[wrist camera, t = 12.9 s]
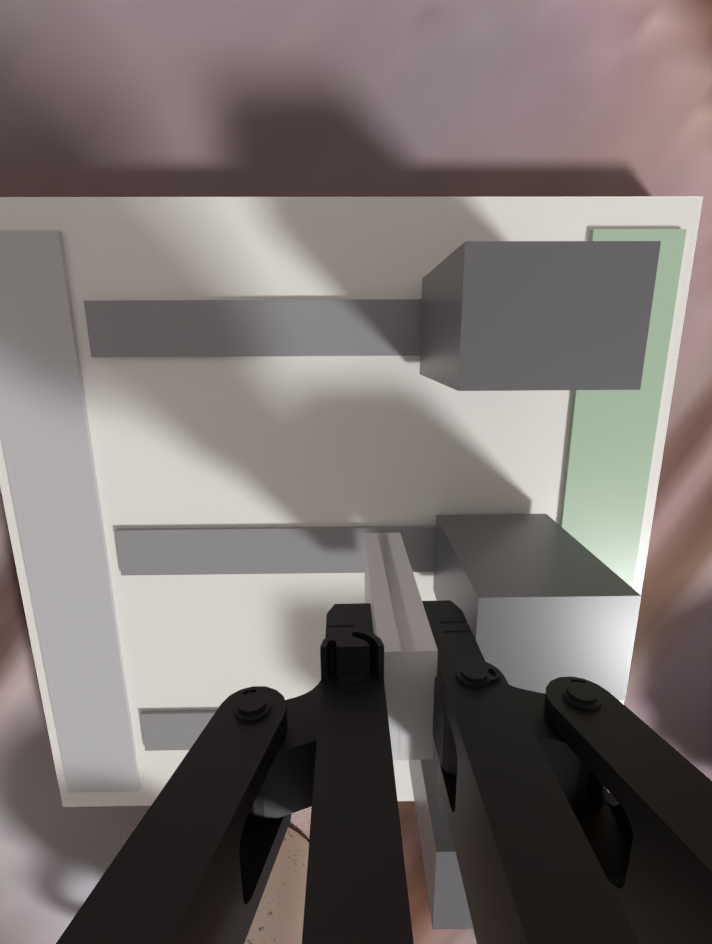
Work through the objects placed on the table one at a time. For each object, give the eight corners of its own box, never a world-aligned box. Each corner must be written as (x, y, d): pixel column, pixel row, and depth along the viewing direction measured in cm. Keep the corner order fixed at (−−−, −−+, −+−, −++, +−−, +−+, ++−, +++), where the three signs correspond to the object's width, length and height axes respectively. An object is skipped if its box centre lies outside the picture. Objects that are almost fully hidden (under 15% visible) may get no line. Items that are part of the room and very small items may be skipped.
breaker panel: (86, 768, 23) (60, 811, 21) (-12, 213, 17) (-62, 194, 15) (587, 760, 24) (611, 801, 22) (664, 212, 18) (707, 194, 16)
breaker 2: (419, 373, 17) (458, 390, 11) (421, 278, 16) (465, 241, 10) (538, 373, 17) (640, 389, 11) (546, 278, 16) (661, 241, 10)
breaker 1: (408, 764, 21) (432, 929, 15) (410, 702, 20) (436, 851, 14) (504, 762, 21) (565, 926, 15) (509, 701, 20) (576, 849, 14)
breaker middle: (433, 590, 19) (472, 702, 13) (435, 514, 18) (478, 597, 12) (538, 588, 19) (624, 699, 13) (546, 513, 18) (641, 595, 12)
